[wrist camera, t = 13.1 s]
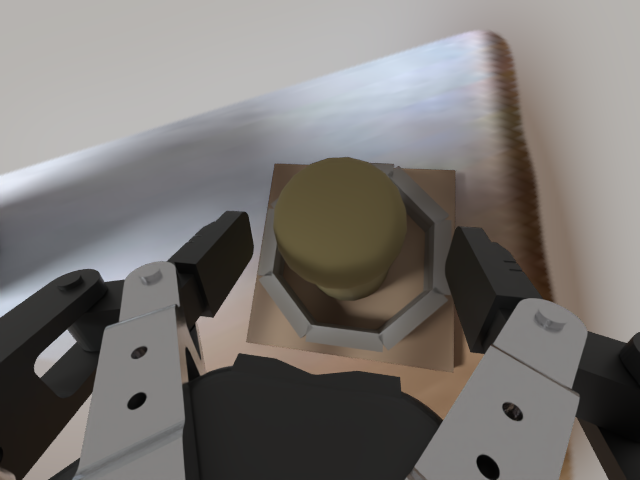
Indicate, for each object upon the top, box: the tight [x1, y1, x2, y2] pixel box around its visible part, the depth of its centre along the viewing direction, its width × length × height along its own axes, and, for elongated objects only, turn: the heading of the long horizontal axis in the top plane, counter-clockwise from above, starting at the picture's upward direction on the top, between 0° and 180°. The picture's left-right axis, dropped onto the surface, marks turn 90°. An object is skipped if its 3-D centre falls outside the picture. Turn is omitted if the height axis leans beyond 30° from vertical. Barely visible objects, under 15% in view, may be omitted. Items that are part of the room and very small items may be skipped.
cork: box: [273, 157, 407, 301], centre depth 14 cm, size 6×6×11 cm
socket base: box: [246, 163, 455, 373], centre depth 19 cm, size 14×14×4 cm
